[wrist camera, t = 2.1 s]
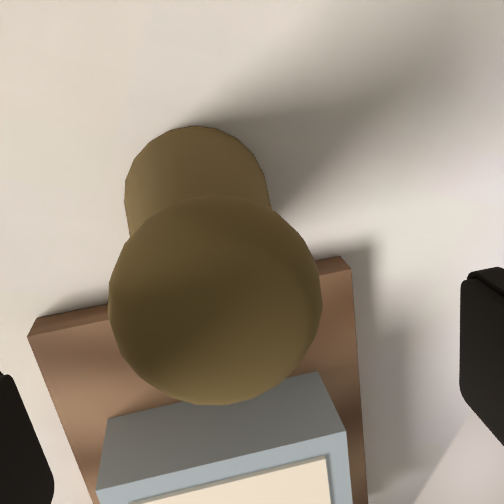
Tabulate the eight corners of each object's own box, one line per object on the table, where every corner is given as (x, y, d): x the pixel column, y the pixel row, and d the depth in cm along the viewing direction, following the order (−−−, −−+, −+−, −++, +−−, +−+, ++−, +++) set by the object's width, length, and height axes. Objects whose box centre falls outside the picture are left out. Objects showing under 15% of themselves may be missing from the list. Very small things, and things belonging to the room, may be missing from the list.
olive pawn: (294, 178, 21) (412, 294, 11) (216, 286, 22) (256, 479, 12) (174, 94, 19) (180, 139, 9) (96, 219, 20) (22, 385, 10)
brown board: (36, 318, 21) (27, 336, 20) (339, 256, 22) (351, 269, 21) (126, 555, 28) (124, 582, 26) (359, 496, 29) (369, 518, 27)
